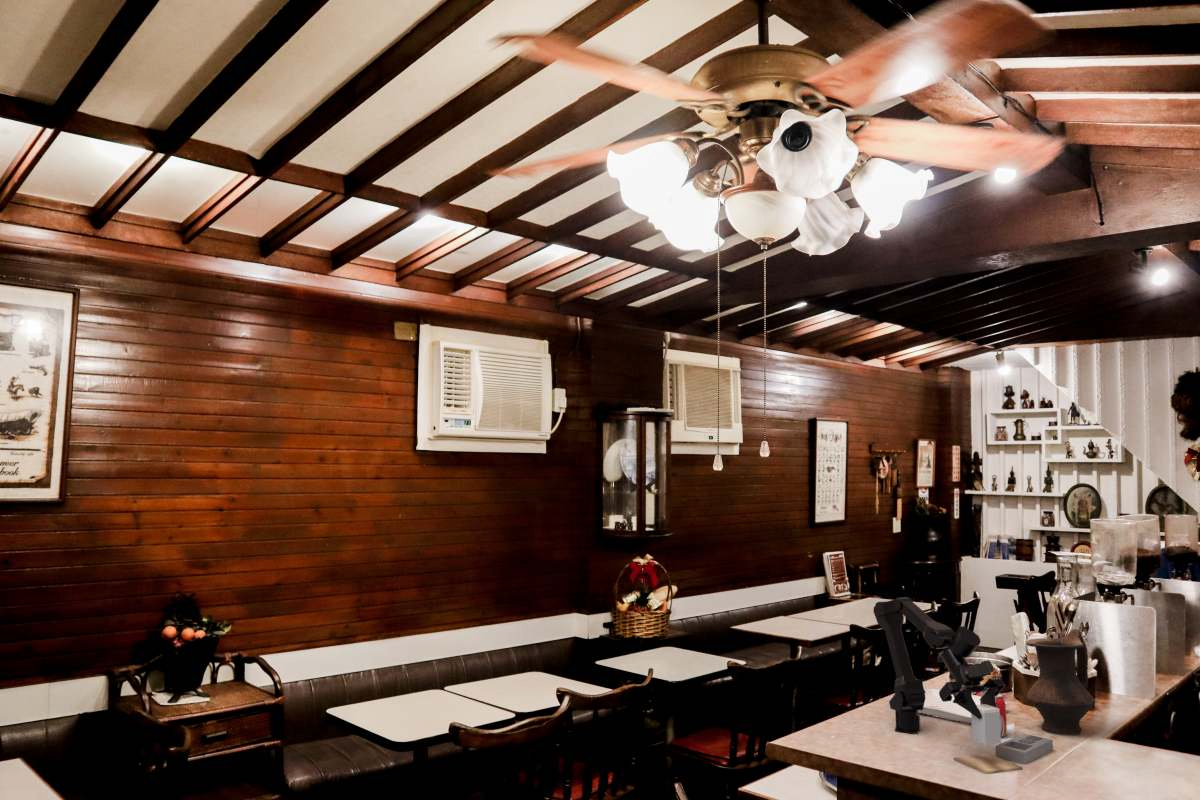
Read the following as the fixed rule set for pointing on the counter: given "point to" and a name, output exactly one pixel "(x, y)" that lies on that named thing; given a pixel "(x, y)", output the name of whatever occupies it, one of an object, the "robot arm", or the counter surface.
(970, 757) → the cork pad
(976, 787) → the counter surface
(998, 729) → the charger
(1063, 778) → the counter surface
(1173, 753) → the counter surface
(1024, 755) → the power strip
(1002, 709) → the soda can
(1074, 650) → the jug
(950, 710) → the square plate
